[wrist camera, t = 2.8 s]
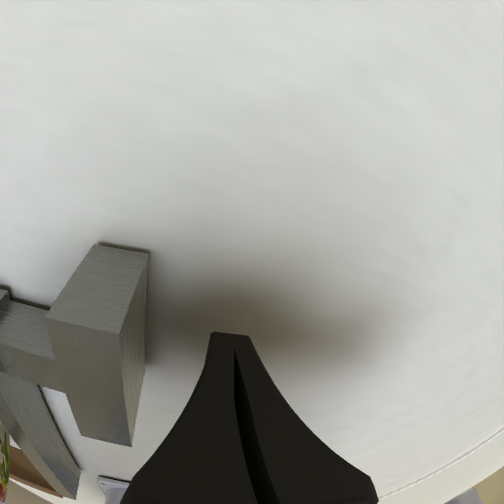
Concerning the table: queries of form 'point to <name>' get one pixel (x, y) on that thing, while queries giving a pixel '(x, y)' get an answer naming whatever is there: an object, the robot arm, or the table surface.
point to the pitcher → (4, 461)
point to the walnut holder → (28, 472)
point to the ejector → (76, 361)
